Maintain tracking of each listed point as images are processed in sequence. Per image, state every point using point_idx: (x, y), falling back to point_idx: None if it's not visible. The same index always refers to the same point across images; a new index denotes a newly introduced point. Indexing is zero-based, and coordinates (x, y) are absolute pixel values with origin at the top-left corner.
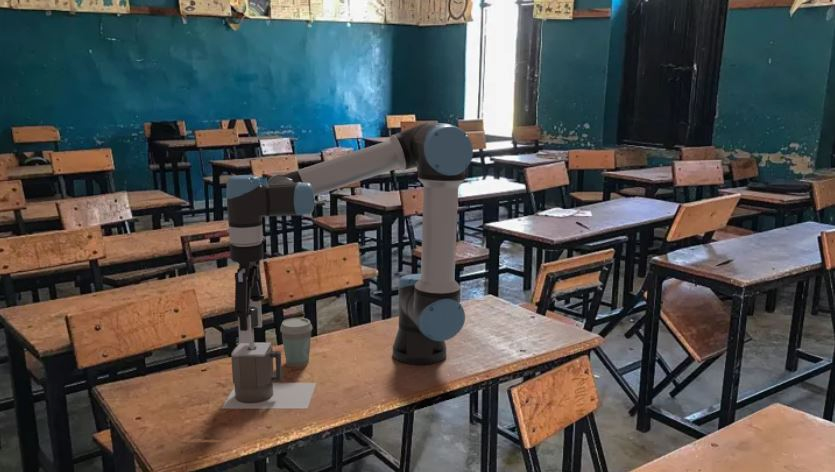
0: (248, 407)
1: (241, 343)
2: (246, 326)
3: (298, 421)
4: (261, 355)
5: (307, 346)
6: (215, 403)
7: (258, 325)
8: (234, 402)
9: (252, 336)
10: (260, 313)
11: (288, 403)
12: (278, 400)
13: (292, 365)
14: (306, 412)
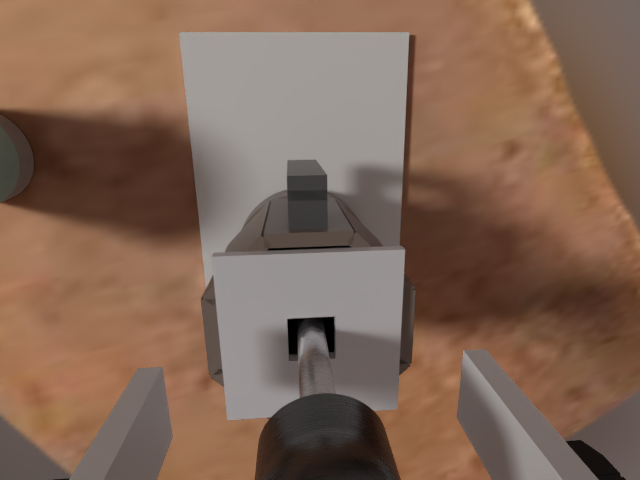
0: (393, 245)
1: (242, 409)
2: (606, 472)
3: (484, 55)
4: (402, 263)
5: None
6: None
7: (159, 396)
8: None
9: (330, 376)
10: (116, 461)
11: (367, 115)
12: (342, 157)
13: (28, 169)
14: (420, 36)
